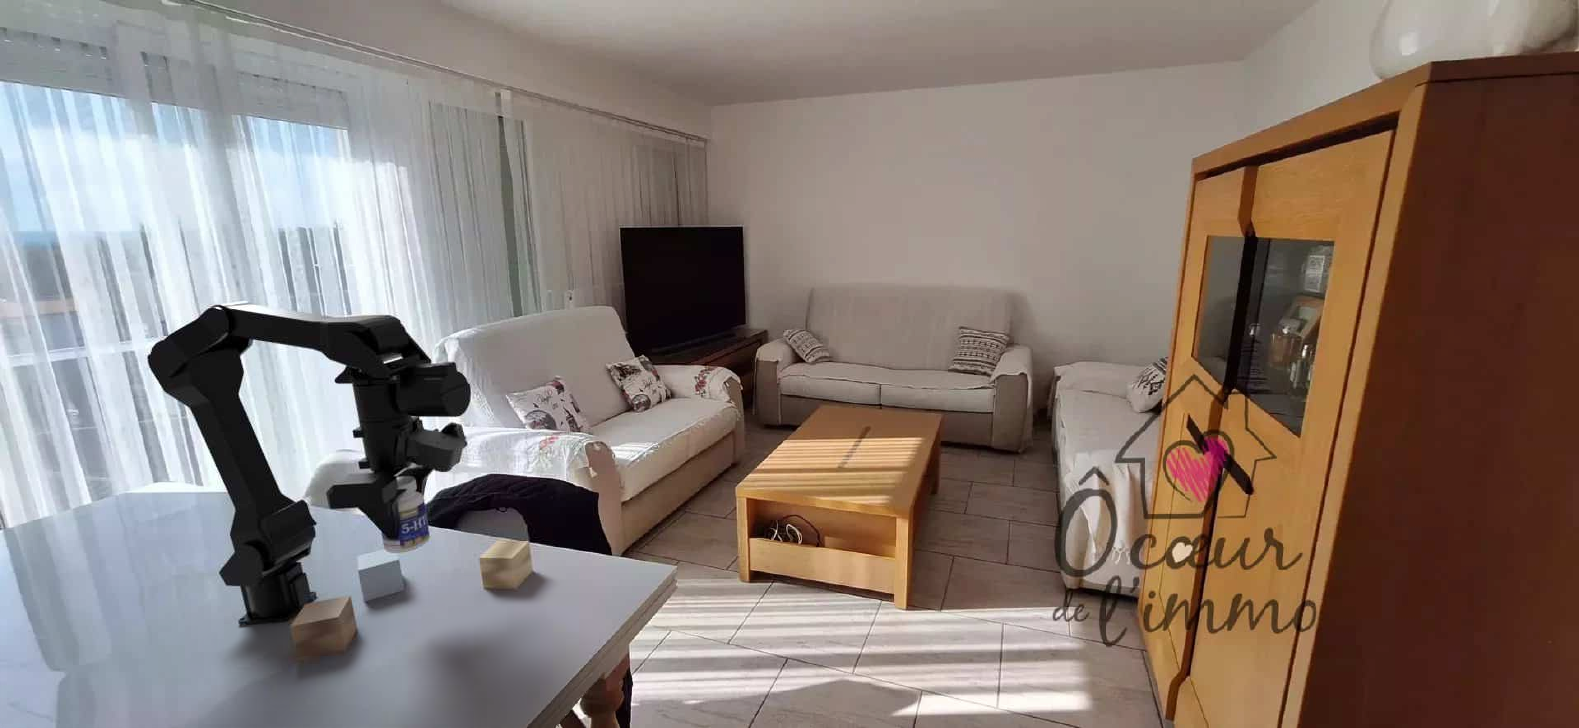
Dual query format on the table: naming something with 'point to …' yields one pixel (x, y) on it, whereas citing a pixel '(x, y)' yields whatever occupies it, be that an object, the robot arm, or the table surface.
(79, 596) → the table surface
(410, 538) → the pill bottle
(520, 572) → the oak block
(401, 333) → the robot arm
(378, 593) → the slate block
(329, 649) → the walnut block
